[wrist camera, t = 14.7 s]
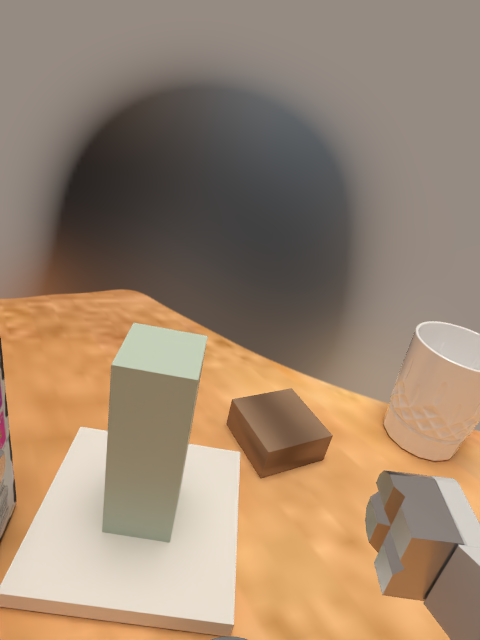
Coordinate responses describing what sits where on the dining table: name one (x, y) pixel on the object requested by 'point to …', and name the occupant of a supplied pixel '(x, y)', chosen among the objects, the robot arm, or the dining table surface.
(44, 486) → the dining table surface
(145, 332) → the sage block
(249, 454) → the walnut block
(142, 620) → the plate
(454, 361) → the white cup
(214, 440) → the dining table surface
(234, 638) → the grey domed disc
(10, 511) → the candy bar box
